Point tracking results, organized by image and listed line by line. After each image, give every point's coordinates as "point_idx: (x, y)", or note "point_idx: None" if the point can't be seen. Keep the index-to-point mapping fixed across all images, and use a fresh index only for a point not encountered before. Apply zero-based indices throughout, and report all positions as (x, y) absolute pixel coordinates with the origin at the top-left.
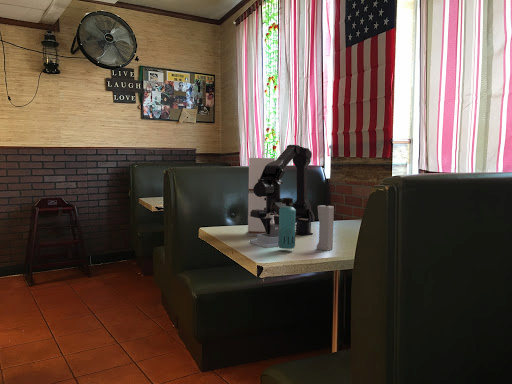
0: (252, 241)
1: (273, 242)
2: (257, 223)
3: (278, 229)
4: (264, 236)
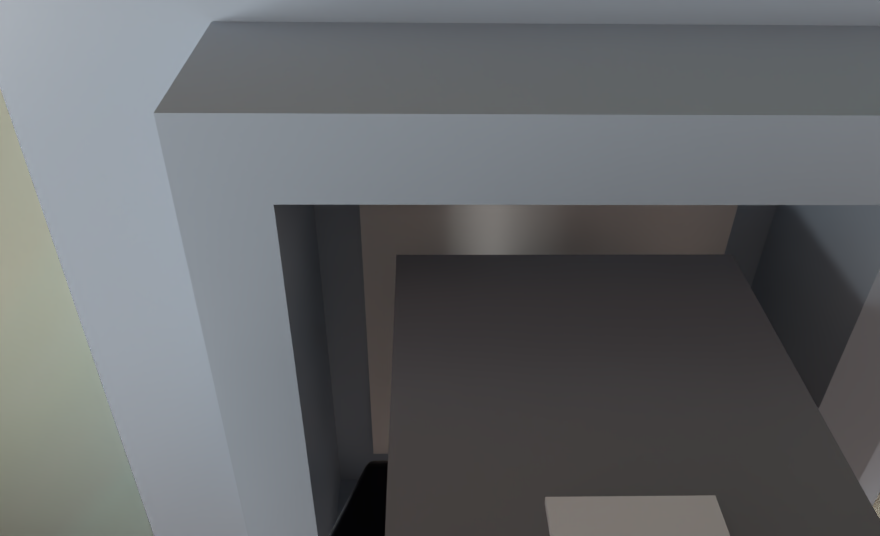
0: (876, 478)
1: (834, 41)
2: None
3: (504, 480)
4: (876, 418)
